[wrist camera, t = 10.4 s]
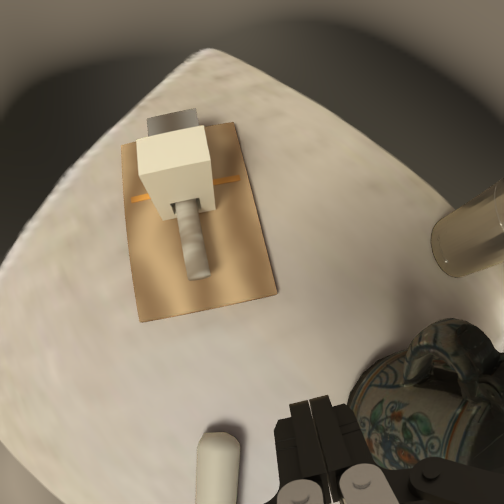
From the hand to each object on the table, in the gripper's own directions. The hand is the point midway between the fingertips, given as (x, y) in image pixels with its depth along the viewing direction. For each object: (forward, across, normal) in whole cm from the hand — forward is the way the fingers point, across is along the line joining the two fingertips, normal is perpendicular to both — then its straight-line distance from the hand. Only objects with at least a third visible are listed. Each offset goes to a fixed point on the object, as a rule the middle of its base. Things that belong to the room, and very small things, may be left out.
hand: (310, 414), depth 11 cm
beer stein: (+19, -11, +22) cm, 31 cm away
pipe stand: (+30, +8, -6) cm, 32 cm away
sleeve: (+29, +8, -7) cm, 31 cm away
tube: (+12, +13, +28) cm, 33 cm away
